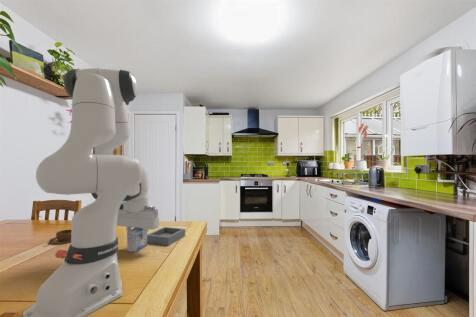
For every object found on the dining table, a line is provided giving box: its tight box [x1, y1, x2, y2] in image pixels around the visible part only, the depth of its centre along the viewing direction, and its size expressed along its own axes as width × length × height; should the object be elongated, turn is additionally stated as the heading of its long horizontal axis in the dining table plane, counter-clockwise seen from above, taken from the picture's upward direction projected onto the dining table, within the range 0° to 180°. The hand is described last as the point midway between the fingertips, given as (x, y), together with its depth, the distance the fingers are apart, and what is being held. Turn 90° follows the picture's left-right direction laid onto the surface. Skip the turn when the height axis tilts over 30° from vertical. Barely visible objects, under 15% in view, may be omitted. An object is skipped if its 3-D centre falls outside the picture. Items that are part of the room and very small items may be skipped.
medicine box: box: [126, 227, 148, 253], centre depth 102 cm, size 8×4×9 cm, turn 168°
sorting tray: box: [147, 226, 186, 247], centre depth 114 cm, size 12×14×4 cm
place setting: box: [43, 229, 71, 247], centre depth 109 cm, size 18×20×6 cm
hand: (137, 237), depth 102 cm, fingers open, 5 cm apart
